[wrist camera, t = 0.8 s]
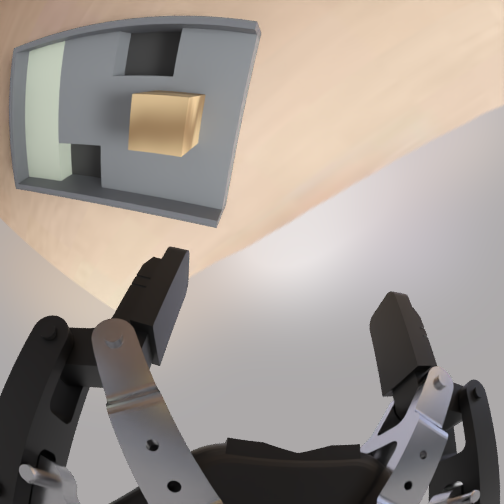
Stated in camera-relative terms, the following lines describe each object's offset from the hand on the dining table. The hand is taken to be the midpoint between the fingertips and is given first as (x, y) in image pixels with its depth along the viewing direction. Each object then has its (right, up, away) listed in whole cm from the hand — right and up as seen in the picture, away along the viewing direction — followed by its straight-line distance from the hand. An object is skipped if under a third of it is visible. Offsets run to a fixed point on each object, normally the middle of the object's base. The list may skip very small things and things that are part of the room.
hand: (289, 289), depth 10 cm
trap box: (-17, +18, +15) cm, 29 cm away
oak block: (-9, +14, +13) cm, 21 cm away
